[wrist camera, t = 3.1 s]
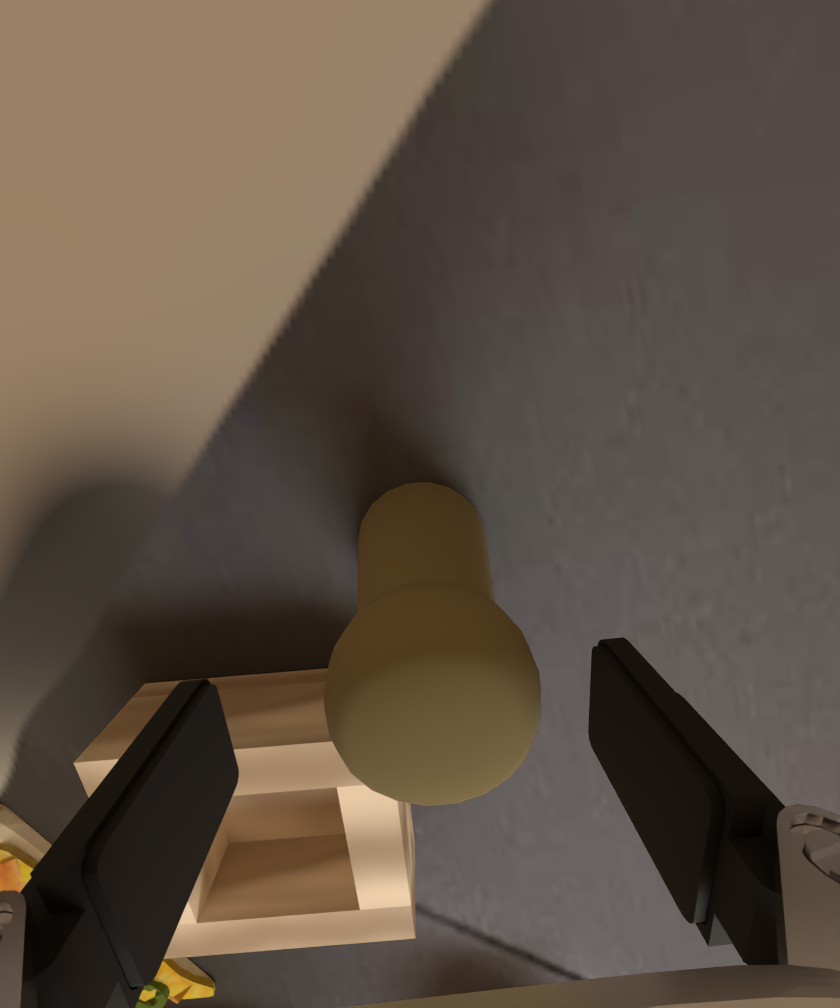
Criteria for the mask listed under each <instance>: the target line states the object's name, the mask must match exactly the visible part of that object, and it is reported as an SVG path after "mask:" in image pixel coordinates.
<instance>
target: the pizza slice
mask: <svg viewBox="0 0 840 1008" xmlns="http://www.w3.org/2000/svg"><path fill="white" fill-rule="evenodd" d="M51 846H52V845H51V844H50V843H49V842H48V841H46V840H45V839H44V838H43V837H42V836H40V835H39V834H38V833H37V832H36V831H34V830H33V829H32V828H31V827H30V826H28V825H27V824H26V823H25V822H24V821H23V820H21V819H20V818H19V817H18V816H17V815H16V814H15V813H14V812H12V811H11V810H10V809H8V808H7V807H6V806H4V805H2V804H0V891H5V890H16V891H18V892H19V893H20V892H21V890H22V889H23V888H24V886H25V885H26V884H27V883H28V881H29V880H30V879H31V875H30V873H31V872H32V870H33V869H34V868H35V867H36V865H37V864H38V863H39V861H40V860H41V859H42V858H43V856H44V855H45V854H46V852H47V851H48V850H49V849H50V847H51ZM214 991H215V985H214V981H213V980H212V979H211V978H210V977H209V976H208V975H206V974H205V973H204V972H203V971H202V970H200V969H199V968H198V967H197V966H196V965H195V964H193V963H192V962H191V961H190V960H189V959H187V958H186V957H181V958H169V959H163V961H162V964H161V966H160V968H159V970H158V972H157V975H156V976H155V978H154V979H153V981H152V982H151V983H150V984H149V985H147V986H144V988H143V990H142V993H141V995H140V997H139V1000H138V1002H137V1004H136V1006H135V1007H136V1008H163V1007H164V1006H165V1004H166V1002H167V999H169V998H170V999H171V1000H172V1001H173V1002H175V1003H177V1004H178V1003H179V1001H180V1000H181V999H191V998H203V997H210V996H214Z"/></svg>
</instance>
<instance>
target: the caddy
mask: <svg viewBox="0 0 840 1008" xmlns="http://www.w3.org/2000/svg"><path fill="white" fill-rule="evenodd" d="M327 671H328V668H325V669H313V670H301V671H289V672H277V673H265V674H253V675H241V676H229V677H217V678H205V679H208V680H209V681H210V683H211V684H214V685H216V686H217V689H218V693H219V696H220V700H221V704H222V708H223V711H224V715H225V719H226V723H227V727H228V730H229V734H230V738H231V742H232V745H233V749H234V753H235V757H236V761H237V764H238V769H239V778H238V783H237V786H236V789H235V791H234V794H233V796H232V798H231V801H230V803H229V805H228V808H227V810H226V812H225V815H224V817H223V820H222V822H221V824H220V827H219V829H218V831H217V834H216V836H215V838H214V841H213V843H212V846H211V848H210V850H209V853H208V855H207V857H206V860H205V862H204V864H203V867H202V869H201V872H200V874H199V876H198V879H197V881H196V883H195V886H194V888H193V890H192V893H191V895H190V897H189V900H188V902H187V905H186V907H185V909H184V912H183V914H182V916H181V919H180V921H179V923H178V926H177V928H176V931H175V933H174V935H173V938H172V940H171V942H170V945H169V947H168V949H167V952H166V954H165V957H164V959H169V958H181V957H193V956H206V955H218V954H230V953H242V952H254V951H267V950H279V949H291V948H303V947H315V946H328V945H340V944H352V943H364V942H376V941H389V940H401V939H413V938H415V839H414V831H413V823H412V814H411V806H410V803H405V802H399V801H396V800H394V799H391V798H389V797H386V796H384V795H382V794H379V793H377V792H375V791H372V790H371V789H370V788H368V787H367V786H366V785H365V784H364V783H362V782H361V781H360V780H359V779H357V778H356V777H355V776H354V775H352V774H351V772H350V771H349V769H348V768H347V766H346V764H345V763H344V761H343V760H342V758H341V757H340V755H339V753H338V752H337V750H336V748H335V746H334V744H333V742H332V740H331V738H330V736H329V731H328V726H327V720H326V715H325V710H324V686H325V681H326V676H327ZM193 680H197V679H193ZM182 681H187V680H181V681H169V682H157V683H145V684H144V685H143V686H142V687H141V688H140V689H139V691H138V692H137V693H136V694H135V695H134V696H133V697H132V698H131V699H130V701H129V702H128V703H127V704H126V705H125V706H124V707H123V708H122V709H121V711H120V712H119V713H118V714H117V715H116V716H115V717H114V718H113V719H112V721H111V722H110V723H109V724H108V725H107V726H106V727H105V728H104V730H103V731H102V732H101V733H100V734H99V735H98V736H97V737H96V738H95V740H94V741H93V742H92V743H91V744H90V745H89V746H88V747H87V748H86V750H85V751H84V752H83V753H82V754H81V755H80V756H79V757H78V759H77V760H76V761H75V762H74V765H75V767H76V770H77V772H78V774H79V776H80V779H81V781H82V783H83V786H84V788H85V790H86V792H87V795H88V797H90V796H91V795H92V793H93V792H94V791H95V790H96V788H97V787H98V786H99V784H100V783H101V782H102V781H103V779H104V778H105V777H106V775H107V774H108V773H109V772H110V770H111V769H112V768H113V766H114V765H115V764H116V763H117V761H118V760H119V759H120V757H121V756H122V755H123V754H124V752H125V751H126V750H127V748H128V747H129V746H130V745H131V743H132V742H133V741H134V739H135V738H136V737H137V736H138V734H139V733H140V732H141V730H142V729H143V728H144V727H145V725H146V724H147V723H148V721H149V720H150V719H151V718H152V716H153V715H154V714H155V712H156V711H157V710H158V709H159V707H160V706H161V705H162V703H163V702H164V701H165V700H166V698H167V697H168V696H169V694H170V693H171V692H172V691H173V689H174V688H175V687H176V685H177V684H178V683H179V682H182Z"/></svg>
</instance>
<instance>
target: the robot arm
mask: <svg viewBox="0 0 840 1008" xmlns="http://www.w3.org/2000/svg"><path fill="white" fill-rule="evenodd" d="M588 732H589V739H590V743H591V746H592V748H593V751H594V752H595V754H596V756H597V758H598V760H599V762H600V764H601V765H602V767H603V769H604V771H605V773H606V775H607V777H608V778H609V780H610V782H611V784H612V786H613V788H614V789H615V791H616V793H617V795H618V797H619V799H620V801H621V802H622V804H623V806H624V808H625V810H626V812H627V814H628V815H629V817H630V819H631V821H632V823H633V825H634V827H635V828H636V830H637V832H638V834H639V836H640V838H641V840H642V841H643V843H644V845H645V847H646V849H647V851H648V853H649V854H650V856H651V858H652V860H653V862H654V864H655V866H656V867H657V869H658V871H659V873H660V875H661V877H662V878H663V880H664V882H665V884H666V886H667V888H668V890H669V891H670V893H671V895H672V897H673V899H674V901H675V903H676V904H677V906H678V908H679V910H680V912H681V913H682V915H683V916H684V918H685V919H686V920H687V921H688V922H689V923H696V925H697V927H698V929H699V930H700V932H701V934H702V936H703V938H704V939H705V941H706V943H707V945H708V947H709V946H718V945H727V944H733V945H734V947H735V948H736V950H737V952H738V953H739V955H740V957H741V958H742V960H743V962H745V963H746V964H748V965H737V966H725V967H713V968H701V969H690V970H678V971H666V972H654V973H642V974H633V975H624V976H615V977H606V978H597V979H587V980H578V981H569V982H560V983H551V984H542V985H533V986H524V987H514V988H505V989H496V990H487V991H479V992H470V993H461V994H453V995H444V996H435V997H427V998H418V999H409V1000H401V1001H392V1002H384V1003H375V1004H367V1005H358V1006H350V1007H341V1008H840V816H838V815H836V814H834V813H832V812H830V811H827V810H824V809H821V808H817V807H814V806H808V805H799V804H796V805H792V806H787V807H785V806H784V805H783V804H782V803H781V802H780V801H779V799H778V798H777V797H776V796H775V795H774V794H773V793H772V792H771V791H770V790H769V789H768V788H767V787H766V786H765V784H764V783H763V782H762V781H761V780H760V779H759V778H758V777H757V776H756V775H755V774H754V773H753V772H752V770H751V769H750V768H749V767H748V766H747V765H746V764H745V763H744V762H743V761H742V760H741V759H740V758H739V757H738V755H737V754H736V753H735V752H734V751H733V750H732V749H731V748H730V747H729V746H728V745H727V744H726V743H725V742H724V740H723V739H722V738H721V737H720V736H719V735H718V734H717V733H716V732H715V731H714V730H713V729H712V728H711V727H710V725H709V724H708V723H707V722H706V721H705V720H704V719H703V718H702V717H701V716H700V715H699V714H698V713H697V711H696V710H695V709H694V708H693V707H692V706H691V705H690V704H689V703H688V702H687V701H686V700H685V699H684V698H683V697H682V696H681V695H680V694H678V693H676V692H675V691H674V690H673V689H672V688H671V687H670V686H669V685H668V683H667V682H666V681H665V680H664V679H663V678H662V677H661V676H660V675H659V674H658V673H657V672H656V670H655V669H654V668H653V667H652V666H651V665H650V664H649V663H648V662H647V661H646V660H645V659H644V657H643V656H642V655H641V654H640V653H639V652H638V651H637V650H636V649H635V648H634V647H633V646H632V644H631V643H630V642H629V641H628V640H627V639H625V638H613V639H603V640H600V641H599V643H598V646H595V647H593V649H592V660H591V683H590V706H589V730H588ZM238 778H239V769H238V764H237V761H236V757H235V753H234V749H233V745H232V742H231V738H230V734H229V730H228V727H227V723H226V719H225V715H224V711H223V708H222V704H221V700H220V696H219V693H218V689H217V686H216V685H214V684H211V683H210V681H209V680H208V679H197V680H187V681H182V682H179V683H178V684H177V685H176V687H175V688H174V689H173V691H172V692H171V693H170V694H169V696H168V697H167V698H166V700H165V701H164V702H163V703H162V705H161V706H160V707H159V709H158V710H157V711H156V712H155V714H154V715H153V716H152V718H151V719H150V720H149V721H148V723H147V724H146V725H145V727H144V728H143V729H142V730H141V732H140V733H139V734H138V736H137V737H136V738H135V739H134V741H133V742H132V743H131V745H130V746H129V747H128V748H127V750H126V751H125V752H124V754H123V755H122V756H121V757H120V759H119V760H118V761H117V763H116V764H115V765H114V766H113V768H112V769H111V770H110V772H109V773H108V774H107V775H106V777H105V778H104V779H103V781H102V782H101V783H100V784H99V786H98V787H97V788H96V790H95V791H94V792H93V793H92V795H91V796H90V797H89V798H88V800H87V801H86V802H85V804H84V805H83V806H82V807H81V809H80V810H79V811H78V813H77V814H76V815H75V816H74V818H73V819H72V820H71V822H70V823H69V824H68V825H67V827H66V828H65V829H64V831H63V832H62V833H61V834H60V836H59V837H58V838H57V840H56V841H55V842H54V843H53V845H52V846H51V847H50V849H49V850H48V851H47V852H46V854H45V855H44V856H43V858H42V859H41V860H40V861H39V863H38V864H37V865H36V867H35V868H34V869H33V870H32V872H31V873H30V875H31V879H30V880H29V881H28V883H27V884H26V885H25V886H24V888H23V889H22V890H21V892H20V893H19V892H18V891H16V890H5V891H0V1008H135V1006H136V1004H137V1002H138V1000H139V997H140V995H141V993H142V990H143V988H144V986H147V985H149V984H150V983H151V982H152V981H153V979H154V978H155V976H156V975H157V972H158V970H159V968H160V966H161V964H162V961H163V959H164V957H165V954H166V952H167V949H168V947H169V945H170V942H171V940H172V938H173V935H174V933H175V931H176V928H177V926H178V923H179V921H180V919H181V916H182V914H183V912H184V909H185V907H186V905H187V902H188V900H189V897H190V895H191V893H192V890H193V888H194V886H195V883H196V881H197V879H198V876H199V874H200V872H201V869H202V867H203V864H204V862H205V860H206V857H207V855H208V853H209V850H210V848H211V846H212V843H213V841H214V838H215V836H216V834H217V831H218V829H219V827H220V824H221V822H222V820H223V817H224V815H225V812H226V810H227V808H228V805H229V803H230V801H231V798H232V796H233V794H234V791H235V789H236V786H237V783H238Z"/></svg>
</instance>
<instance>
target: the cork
mask: <svg viewBox="0 0 840 1008" xmlns="http://www.w3.org/2000/svg"><path fill="white" fill-rule="evenodd" d="M324 710H325V715H326V720H327V726H328V731H329V736H330V738H331V740H332V742H333V744H334V746H335V748H336V750H337V752H338V753H339V755H340V757H341V758H342V760H343V761H344V763H345V764H346V766H347V768H348V769H349V771H350V772H351V774H352V775H354V776H355V777H356V778H357V779H359V780H360V781H361V782H362V783H364V784H365V785H366V786H367V787H368V788H370V789H371V790H372V791H375V792H377V793H379V794H382V795H384V796H386V797H389V798H391V799H394V800H396V801H399V802H405V803H412V804H419V805H425V806H430V805H442V804H454V803H459V802H462V801H465V800H468V799H471V798H474V797H477V796H480V795H483V794H485V793H487V792H488V791H490V790H491V789H493V788H494V787H496V786H498V785H499V784H501V783H502V782H504V781H505V780H507V779H508V778H509V777H510V776H511V775H512V774H513V772H514V771H515V770H516V769H517V768H518V767H519V765H520V764H521V763H522V762H523V761H524V760H525V758H526V756H527V754H528V751H529V749H530V746H531V744H532V741H533V739H534V736H535V733H536V730H537V727H538V724H539V721H540V718H541V687H540V677H539V671H538V668H537V666H536V663H535V661H534V658H533V656H532V653H531V651H530V648H529V646H528V644H527V642H526V639H525V637H524V635H523V633H522V631H521V630H520V629H519V628H518V626H517V625H516V624H515V623H514V622H513V621H512V620H511V619H510V618H509V617H508V616H507V614H506V613H505V612H504V611H503V610H502V609H501V608H500V607H499V606H498V605H497V604H496V603H495V601H494V594H493V587H492V580H491V573H490V566H489V559H488V552H487V545H486V537H485V530H484V527H483V525H482V522H481V519H480V517H479V514H478V512H477V510H476V509H475V508H474V507H473V506H472V505H471V504H470V502H469V501H468V500H467V499H466V498H465V497H464V496H463V495H461V494H459V493H458V492H456V491H454V490H453V489H451V488H449V487H447V486H444V485H439V484H435V483H430V482H418V483H407V484H404V485H401V486H399V487H396V488H394V489H392V490H389V491H387V492H386V493H384V494H383V495H382V496H381V497H380V498H379V499H377V500H376V501H375V502H374V503H373V504H372V505H371V506H370V508H369V510H368V511H367V513H366V515H365V516H364V518H363V520H362V521H361V526H360V531H359V536H358V612H357V614H356V615H355V616H354V617H353V619H352V620H351V621H350V623H349V624H348V626H347V627H346V629H345V630H344V632H343V634H342V635H341V637H340V638H339V640H338V642H337V643H336V645H335V646H334V649H333V652H332V655H331V659H330V662H329V666H328V671H327V676H326V681H325V686H324Z"/></svg>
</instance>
